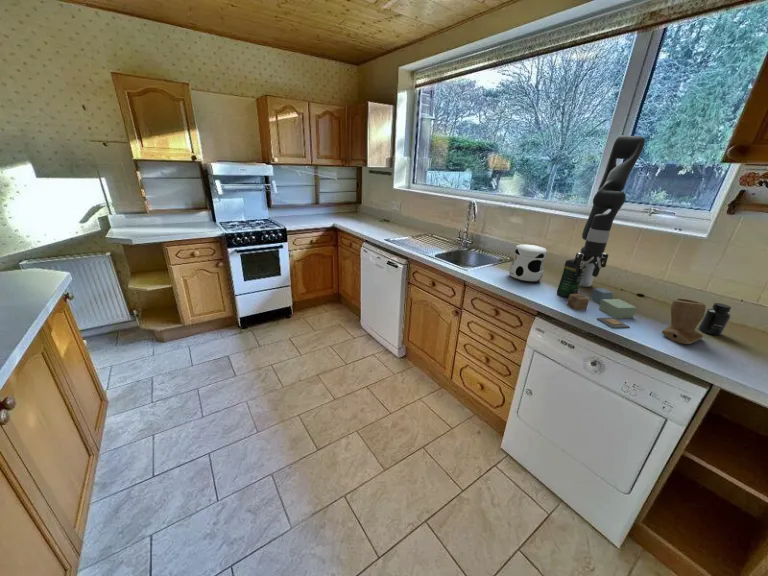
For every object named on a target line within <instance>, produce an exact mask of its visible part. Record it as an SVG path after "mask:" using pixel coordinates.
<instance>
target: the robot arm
mask: <svg viewBox="0 0 768 576" xmlns="http://www.w3.org/2000/svg"><path fill="white" fill-rule="evenodd" d="M645 142H646V140H645V137H643V136H637V135H618V136H617V137H616V138H615V139H614V141H613V143H612V146H611V148H610V152H609V155H608V158H607V163H606V166H605V169H604V170H605V171H604V173H603V176H602V178H601V182H600V183H599V185H598V189H597V191H596V193H595V194H594V196H593V199H592V207H591V211H590V213H589V215H588V218H587V221H586V222H585V224H584V227H583V230H582V233H581V235H582V236H581V238H582V240H584V241H585V243H584V246H582V247H581V249H580V252H577V253H576V254H575V257H574V259H575V260H574V262H573V266H575V267H576V272H575V276H577V277H580V275H581V272H582V268H583V267H584V266H585V265H586V267H585V270H584V272H583V275H582V278H581V282H580V286H579V287H584V288H585V287H587V288H588V287H589V288H590V287H591V286H592V283H593V280H594V278H596V277H598V275H599V273H600V270H601V269H602V268H606V266H607V262H608V258H609V254H608V253H606V252H605V250H606V247H607V244H608V242H609V238H610V232H611V228H612V225H613V222H614V220H615V218H616V217H617V216H616V215H617V214H618V213H619V212H620V209H621V208H622V207H623V206H624V204H625V202H626V198H627V196H626V195H627V194H625V192H624V191H623V190H624V189H625V187H626V184H627V182H628V181H627V180H628V178H629V176H630V173H631V171H632V170H633V168H634V167H635V165H636V163H637V162H638V159H639V157H640V155H641V154H642V151H643V149H644V146H645ZM617 159H618V160H619V159H621V160H625V161H623V162H622V163H620V164H618V165H617ZM608 210H610V211H609V212H607V211H608ZM605 212H607V213H605ZM583 261H584V262H583ZM576 263H577V264H576ZM581 264H582V265H581ZM580 265H581V266H580Z"/></svg>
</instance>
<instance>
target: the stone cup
mask: <svg viewBox="0 0 768 576" xmlns="http://www.w3.org/2000/svg"><path fill="white" fill-rule="evenodd" d="M706 307H707V306H706V304H705V303H704V302H703V301H698V300H693V299H689V298H688V299H687V298H680V297H679V298H674V299H673V300H672V302H671V305H670V320H671V321H670V326H668V327H666V328H665V329H663V330H661V334H663V335H664V336H665V337H666V338H668V339H669V340H671V341H673V342H675V343H679V344H683V345H684V344H685V345H690V344H693V343H696V342H698V341H700V340H701V339H703V337H704V335H703V334H701V333H699V332H697V331H696V328H697V326H698V325H699V324H700V323H701V321H702V319H703V317H704V315H705V313H706Z"/></svg>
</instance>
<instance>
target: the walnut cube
mask: <svg viewBox="0 0 768 576" xmlns="http://www.w3.org/2000/svg"><path fill="white" fill-rule="evenodd" d="M589 300H590V298H589V297H587V296H585V295H583V294H582V293H577V294H570V296H569V297H568V300H567V303H566V305H567V306H568V307H569V308H570V309H573V310H574V311H584V310H585V311H586V310H587V309H588V308H587V307H588V304H589V302H590V301H589Z"/></svg>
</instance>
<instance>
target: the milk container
mask: <svg viewBox="0 0 768 576" xmlns="http://www.w3.org/2000/svg"><path fill="white" fill-rule="evenodd" d="M546 255H547V249H546V248H545V247H542V246H540V245H533V244H525V243H524V244H517V245H516V247H515V249H514V254H513V260H512V262H511V263H510V266H509V271H508V273H509V275H510V277H511V278H513V279H514V280H516V281H520V282H524V283H536V282H539V281H540V280H542V278H543V276H544V264H545V260H546Z"/></svg>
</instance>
